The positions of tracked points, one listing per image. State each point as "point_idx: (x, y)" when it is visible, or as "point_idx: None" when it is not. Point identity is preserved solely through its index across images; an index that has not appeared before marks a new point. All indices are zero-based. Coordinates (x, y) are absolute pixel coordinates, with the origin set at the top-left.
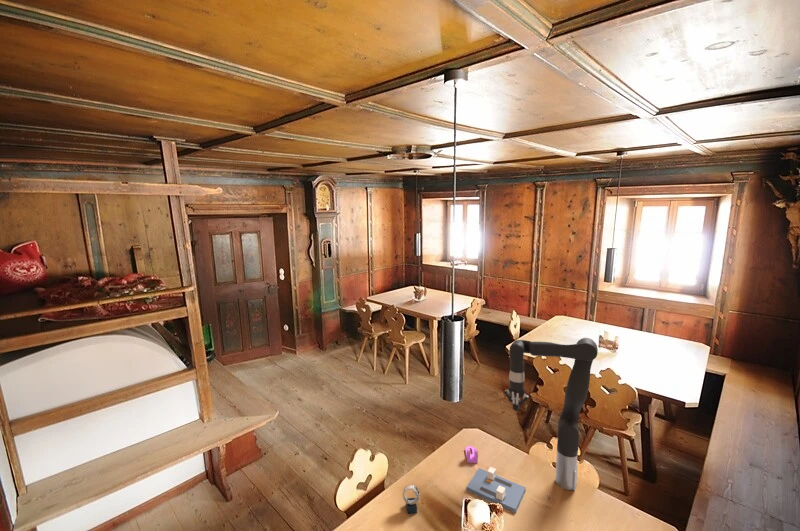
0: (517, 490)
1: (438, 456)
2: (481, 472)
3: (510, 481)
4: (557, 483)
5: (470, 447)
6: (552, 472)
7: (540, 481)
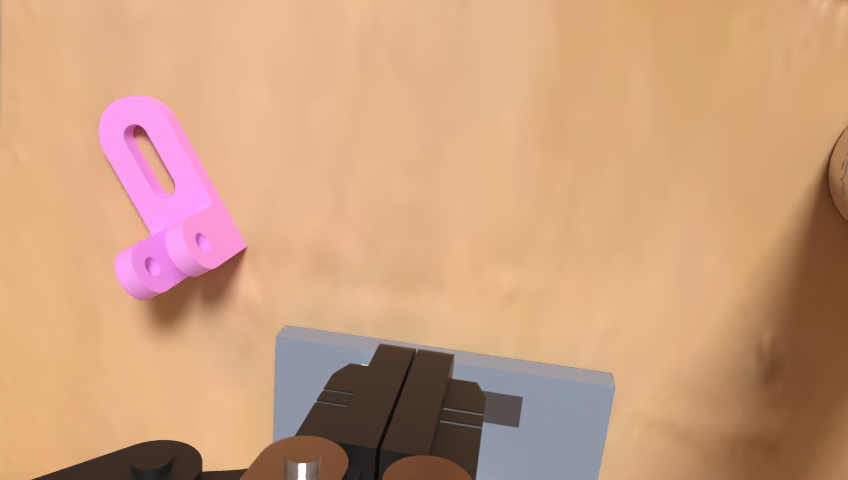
0: (565, 435)
1: (4, 300)
2: (305, 372)
3: (506, 374)
4: (845, 216)
5: (129, 117)
6: (805, 76)
7: (707, 233)
